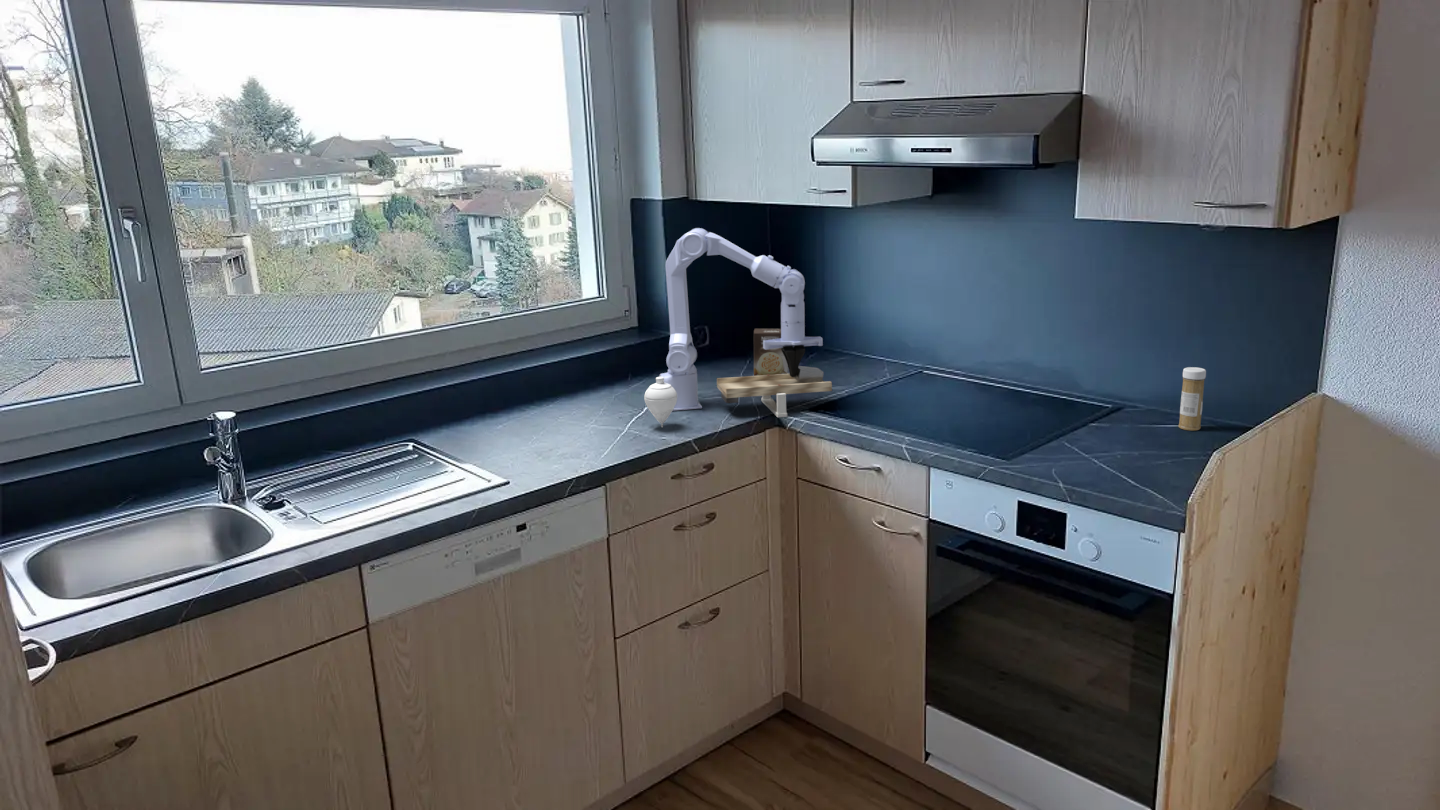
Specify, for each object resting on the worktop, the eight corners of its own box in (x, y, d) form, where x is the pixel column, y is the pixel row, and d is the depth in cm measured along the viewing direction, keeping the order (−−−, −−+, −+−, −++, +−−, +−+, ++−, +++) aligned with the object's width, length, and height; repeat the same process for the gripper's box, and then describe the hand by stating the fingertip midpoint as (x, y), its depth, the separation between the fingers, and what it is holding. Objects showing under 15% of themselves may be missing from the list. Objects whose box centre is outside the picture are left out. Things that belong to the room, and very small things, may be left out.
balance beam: (727, 406, 240) (726, 389, 239) (716, 394, 252) (716, 377, 251) (832, 399, 245) (832, 382, 244) (817, 387, 257) (817, 370, 256)
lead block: (798, 381, 246) (800, 369, 245) (792, 377, 251) (794, 365, 250) (821, 384, 247) (823, 372, 247) (815, 379, 252) (817, 367, 251)
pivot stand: (777, 417, 241) (777, 395, 240) (761, 401, 256) (761, 379, 255) (787, 416, 242) (787, 394, 240) (770, 400, 257) (770, 379, 255)
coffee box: (753, 393, 264) (751, 332, 260) (754, 387, 270) (753, 328, 266) (788, 393, 263) (787, 332, 259) (789, 387, 270) (788, 327, 265)
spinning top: (684, 425, 237) (682, 375, 234) (666, 433, 231) (664, 382, 228) (657, 421, 241) (655, 372, 238) (639, 429, 235) (636, 379, 232)
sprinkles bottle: (1204, 428, 222) (1210, 369, 219) (1192, 432, 220) (1198, 372, 216) (1185, 424, 226) (1191, 365, 223) (1173, 427, 224) (1178, 368, 220)
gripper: (767, 326, 239) (768, 381, 243) (826, 322, 242) (826, 377, 246) (760, 321, 246) (761, 375, 250) (817, 317, 249) (817, 371, 252)
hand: (793, 376), depth 248 cm, fingers closed
